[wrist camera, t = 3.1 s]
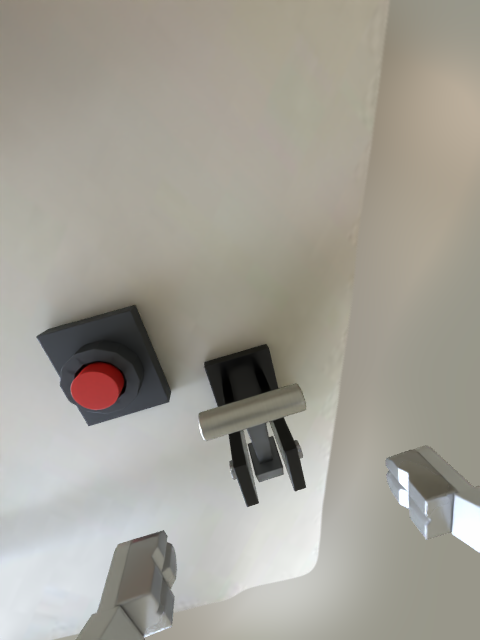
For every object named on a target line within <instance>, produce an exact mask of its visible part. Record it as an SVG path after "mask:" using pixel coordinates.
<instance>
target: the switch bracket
mask: <svg viewBox="0 0 480 640" xmlns="http://www.w3.org/2000/svg"><path fill="white" fill-rule="evenodd" d="M204 367H205V370H206V373H207V376H208V379H209V382H210V385H211V388H212V391H213V394H214V397H215V399H216V402H217V405H218V407H220V406H223V405H227V404H230V403H233V402H236V401H240V400H243V399H246V398H250V397H253V396H256V395H259V394H263V393H266V392H269V391H273V390H276V389H278V385H277V381H276V377H275V373H274V368H273V364H272V360H271V355H270V351H269V348H268V346H267V344H265V345H262V346H258V347H255V348H251V349H248V350H244V351H241V352H238V353H234V354H231V355H227V356H224V357H221V358H217V359H214V360H210V361H207V362H204ZM269 422H270V425H271V428H272V430H273V433H274V436H275V439H276V441H277V444H278V447H279V450H280V452H281V455H282V458H283V461H284V464H285V466H286V469H287V472H288V475H289V477H290V480H291V483H292V486H293V488H294V491H297V490H301V489H304V488H306V485H305V480H304V476H303V471H302V467H301V462H300V458H303V454H302V451H301V448H300V445H299V443H298V441H297V440H294V439H293V437H292V435H291V433H290V431H289V428H288V426H287V424H286V422H285V419H284V417H282V418H279V419H276V420H273V421H269ZM266 423H267V422H266ZM244 430H245V429H244ZM228 435H229V440H230V447H231V454H232V460H231V461H230V470H231V474H232V477H233V479H234V480H235V479H237V480H238V483H239V486H240V488H241V491H242V494H243V497H244V500H245V503H246V505H247V507H249V506H252V505H255V504H258V503H259V501H258V496H257V492H256V487H255V482H254V478H253V473H252V468H251V463H250V459H249V454H248V449H247V445H246V440H245V435H244V431H243V430H240V431H237V432H234V433H231V434H228Z"/></svg>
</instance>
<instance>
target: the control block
mask: <svg viewBox="0 0 480 640" xmlns="http://www.w3.org/2000/svg"><path fill="white" fill-rule="evenodd" d="M37 339H38V341H39V342H40V344H41V346H42V348H43V349H44V351H45V353H46V354H47V356H48V358H49V360H50V361H51V363H52V365H53V366H54V368H55V370H56V371H57V373H58V375H59V377H60V387H61V388H62V390H63V392H64V393H65V395H66V397H67V398H68V400H69V401H70V402H71V403H73V404H75V405H76V406H77V407H78V409H79V411H80V412H81V414H82V416H83V417H84V419H85V421H86V423H87V424H88V426H91V425H94V424H97V423H101V422H104V421H107V420H111V419H114V418H117V417H121V416H124V415H127V414H131V413H134V412H137V411H141V410H144V409H147V408H151V407H154V406H157V405H161V404H164V403H167V402H169V400H170V395H171V390H170V388H169V385H168V383H167V380H166V378H165V376H164V373H163V371H162V368H161V366H160V364H159V361H158V359H157V356H156V354H155V351H154V349H153V347H152V344H151V342H150V339H149V337H148V335H147V332H146V330H145V327H144V325H143V322H142V320H141V318H140V315H139V313H138V310H137V308H136V306H135V305H134V306H130V307H127V308H123V309H119V310H116V311H112V312H109V313H105V314H101V315H98V316H94V317H91V318H87V319H83V320H80V321H76V322H72V323H69V324H65V325H62V326H58V327H54V328H51V329H48V330H46V331H45V332H43V333H41V334H40V335H38V336H37ZM97 362H103V363H108V364H111V365H113V366H115V367H116V368H118V369H119V370H120V372H121V373H122V375H123V377H124V386H123V389H122V391H121V393H120V395H119V397H118V399H117V400H116V402H115V403H114V404H113V405H111V406H110V407H108V408H105V409H100V410H93V409H88V408H85V407H83V406H81V405H80V404H78V403H77V402H76V401H75V400H74V398H73V396H72V394H71V385H72V382H73V380H74V379H75V378H76V377H77V376H78V374H79V373H80V372H81V371H82V370H83V369H84V368H85V367H86V366H88V365H90V364H92V363H97Z"/></svg>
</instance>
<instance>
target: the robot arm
mask: <svg viewBox="0 0 480 640" xmlns="http://www.w3.org/2000/svg"><path fill="white" fill-rule="evenodd" d="M386 466H387V468H388V469H389V471H388V473H387V482H388V485H389V487H390V489H391V491H392V493H393V495H394V496H395V498H396V499H397V501H398V502H399V503H400V504H401V505H402V506H404V507H406V508H408V509H409V512H410V518H411V520H412V521H413V522H414V524H415V525H416V526H417V528H418V529H419V531H420V532H421V533H422V535H423V536H424V537H425V539H426V540H427V539H431V538H434V537H437V536H441V535H444V534H447V533H451V532H452V534H453V535H454V536H456V537H457V538H459V539H460V540H462V541H463V542H465V543H466V544H468V545H469V546H471V547H472V548H473V549H475V550H476V551H478V552H479V553H480V486H476V487H474V486H473V485H471V484H470V483H469V482H468V481H467V480H466V479H465V478H464V477H463V476H462V475H461V474H459V473H458V472H457V471H456V470H455V469H454V468H453V467H452V466H451V465H450V464H448V463H447V462H446V461H445V460H444V459H443V458H442V457H441V456H440V455H438V454H437V452H435V451H434V450H433V449H432V448H431V447H429V446H422V447H419V448H416V449H413V450H409V451H406V452H404V453H400V454H397V455H394V456H391V457H388V458H387V459H386ZM176 571H177V564H176V554H175V550H174V547H173V546H172V544H170V543H168V542H167V535H166V533H165V531H164V530H163V531H160V532H156V533H153V534H150V535H147V536H143V537H140V538H137V539H133V540H130V541H127V542H124V543H121V544H118V546H117V547H116V549H115V551H114V554H113V558H112V561H111V565H110V568H109V572H108V575H107V579H106V582H105V586H104V589H103V593H102V596H101V600H100V603H99V607H98V610H97V613H95V614H92V615H91V617H90V618H89V620H88V621H87V623H86V624H85V626H84V627H83V629H82V630H81V632H80V634H79V635H78V637H77V638H76V640H145V638H144V637H146V636H149V635H151V634H154V633H156V632H159V631H162V630H164V629H167V628H170V627H172V621H173V609H174V595H173V593H172V591H171V587H172V585H173V583H174V581H175V579H176Z"/></svg>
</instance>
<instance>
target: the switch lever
mask: <svg viewBox="0 0 480 640" xmlns="http://www.w3.org/2000/svg"><path fill="white" fill-rule="evenodd" d="M305 410H306V403H305V399H304V396H303V393H302V391H301V389H300V387H299V386H298V384H292V385H289V386H286V387H282V388H279V389H276V390H273V391H269V392H266V393H263V394H259V395H256V396H253V397H250V398H246V399H243V400H240V401H236V402H233V403H230V404H227V405H223V406H220V407H217V408H213V409H210V410H207V411H203V412H200V413H199V416H198V420H199V427H200V431H201V435H202V437H203V439H204V440H205V441H208V440H211V439H215V438H218V437H221V436H224V435H228V434H231V433H234V432H237V431H240V430H244V429H247V431H248V434H249V436H250V439H251V441H252V443H249V444H248V447H249V451H250V455H251V459H252V463H253V467H254V471H255V475H256V477H257V479H258V481H259V482H262V481H265V480H268V479H271V478H274V477H277V476H280V475H283V474H284V473H283V465H282V462H281V459H280V456H279V453H278V450H277V447H276V444H275V441H274V438H273V436H271V437H269V436H268V431H267V426H266V422H269V421H273V420H276V419H279V418H282V417H286V416H289V415H292V414H295V413H298V412H302V411H305Z"/></svg>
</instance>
